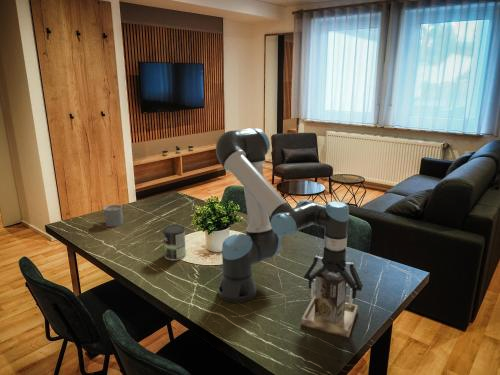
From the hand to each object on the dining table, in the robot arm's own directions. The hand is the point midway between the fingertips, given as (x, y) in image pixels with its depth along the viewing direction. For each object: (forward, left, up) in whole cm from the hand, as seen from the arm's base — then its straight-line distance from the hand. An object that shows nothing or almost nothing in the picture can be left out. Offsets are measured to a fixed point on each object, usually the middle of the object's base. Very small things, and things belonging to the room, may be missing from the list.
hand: (331, 301), depth 139 cm
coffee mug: (-138, +38, -7) cm, 143 cm away
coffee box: (0, 0, -6) cm, 6 cm away
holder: (0, 0, -7) cm, 7 cm away
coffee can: (-80, +18, -7) cm, 82 cm away
